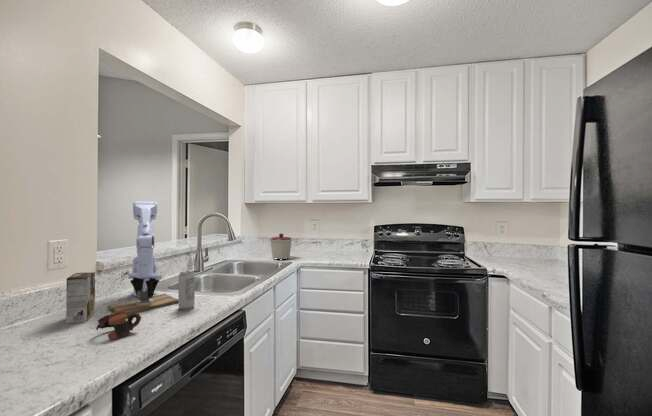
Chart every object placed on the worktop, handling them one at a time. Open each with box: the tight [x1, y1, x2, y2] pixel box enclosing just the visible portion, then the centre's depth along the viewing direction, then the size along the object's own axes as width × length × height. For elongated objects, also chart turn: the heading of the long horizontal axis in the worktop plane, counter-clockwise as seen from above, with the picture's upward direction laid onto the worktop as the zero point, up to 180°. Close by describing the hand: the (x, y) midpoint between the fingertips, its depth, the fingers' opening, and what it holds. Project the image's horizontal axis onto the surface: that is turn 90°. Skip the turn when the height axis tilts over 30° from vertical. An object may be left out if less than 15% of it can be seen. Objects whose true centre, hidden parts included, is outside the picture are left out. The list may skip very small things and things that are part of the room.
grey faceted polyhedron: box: [136, 289, 152, 300], centre depth 127 cm, size 5×6×4 cm
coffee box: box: [65, 271, 96, 325], centre depth 111 cm, size 9×6×16 cm
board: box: [107, 293, 178, 315], centre depth 127 cm, size 15×22×2 cm
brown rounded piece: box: [96, 311, 142, 342], centre depth 98 cm, size 12×10×8 cm
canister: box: [269, 233, 293, 259], centre depth 245 cm, size 18×18×21 cm
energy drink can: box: [177, 269, 196, 310], centre depth 124 cm, size 6×6×15 cm
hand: (144, 296), depth 127 cm, fingers closed on grey faceted polyhedron, 5 cm apart
